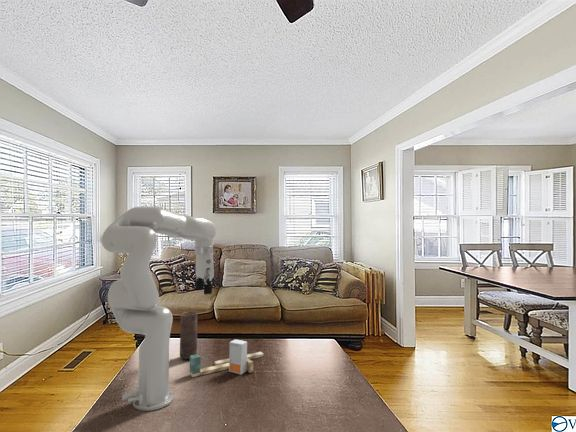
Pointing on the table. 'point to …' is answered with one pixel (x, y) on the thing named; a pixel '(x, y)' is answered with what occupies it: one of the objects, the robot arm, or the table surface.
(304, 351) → the table surface
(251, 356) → the broken strip
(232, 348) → the skincare box
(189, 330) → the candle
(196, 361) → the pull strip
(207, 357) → the table surface
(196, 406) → the table surface
